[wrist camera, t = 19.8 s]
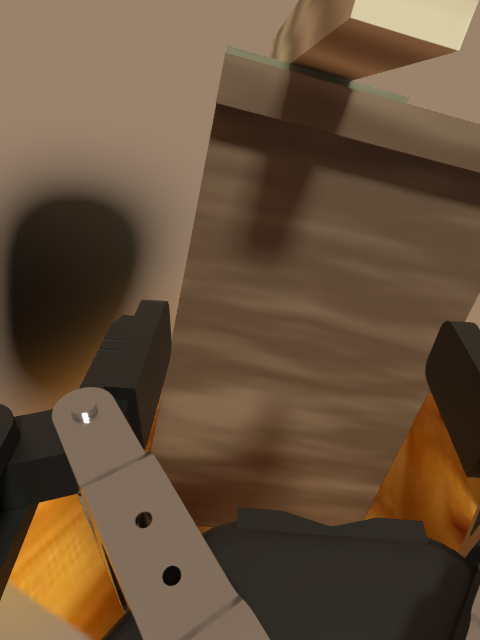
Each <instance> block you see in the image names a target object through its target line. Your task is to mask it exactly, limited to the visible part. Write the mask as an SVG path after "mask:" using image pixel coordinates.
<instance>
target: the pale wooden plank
mask: <svg viewBox="0 0 480 640" xmlns="http://www.w3.org/2000/svg"><path fill="white" fill-rule="evenodd" d="M478 1H479V0H299V2H298V3H297V4H296V6H295V8H294V9H293V11H292V12H291V13H290V15H289V16H288V18H287V19H286V21H285V22H284V24H283V25H282V27H281V28H280V30H279V31H278V33H277V34H276V36H275V37H274V39H273V43H272V47H271V51H270V56H269V58H272V59H276V60H279V61H283V62H286V63H290V64H293V65H297V66H300V67H304V68H307V69H311V70H314V71H318V72H321V73H325V74H328V75H332V76H336V77H339V78H343V79H346V80H350V81H352V80H355V79H359V78H363V77H366V76H370V75H374V74H377V73H381V72H385V71H388V70H392V69H395V68H399V67H403V66H406V65H410V64H413V63H417V62H421V61H424V60H428V59H432V58H435V57H439V56H442V55H446V54H450V53H453V52H457V51H459V50H460V47H461V45H462V42H463V39H464V37H465V34H466V32H467V29H468V26H469V24H470V21H471V19H472V16H473V14H474V11H475V9H476V6H477V3H478Z"/></svg>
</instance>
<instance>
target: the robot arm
mask: <svg viewBox="0 0 480 640" xmlns="http://www.w3.org/2000/svg"><path fill="white" fill-rule="evenodd" d="M169 314H170V313H169V304H168V302H167V301H157V300H141V302H140V304H139V306H138V309H137V311H136V313H135V316H128V315H122V317H120V318H119V319H118V320H116V321H115V322H114V323H113V324H112V325H111V326H110V327H109V330H108V331H107V333H106V335H105V338H104V340H103V342H102V344H101V346H100V348H99V351H98V352H97V354H96V356H95V358H94V360H93V362H92V364H91V366H90V368H89V370H88V372H87V374H86V376H85V378H84V380H83V382H82V384H81V386H80V388H79V389H77V390H74V391H72V392H70V393H68V394H66V395H65V396H64V397H62V398H61V399H60V400H59V401H58V402H57V404H56V405H55V407H54V409H51V410H48V411H43V412H38V413H32V414H27V415H22V416H16V417H14V416H13V414H12V412H11V410H10V409H9V408H8V407H6V406H4V405H1V404H0V600H1V597H2V594H3V592H4V589H5V587H6V584H7V582H8V579H9V577H10V574H11V572H12V569H13V567H14V564H15V562H16V559H17V557H18V554H19V552H20V549H21V547H22V544H23V542H24V539H25V537H26V534H27V532H28V529H29V526H30V524H31V521H32V519H33V516H34V514H35V511H36V509H37V506H38V504H39V502H44V501H48V500H52V499H56V498H61V497H65V496H69V495H74V494H78V497H79V499H80V502H81V504H82V507H83V509H84V512H85V514H86V517H87V519H88V522H89V524H90V527H91V529H92V532H93V534H94V537H95V539H96V542H97V544H98V547H99V550H100V552H101V555H102V557H103V560H104V563H105V566H106V568H107V571H108V574H109V576H110V579H111V582H112V584H113V587H114V589H115V592H116V595H117V597H118V600H119V602H120V605H121V607H122V610H123V612H124V615H123V616H122V617H121V618H120V619H119V620H118V621H117V623H116V624H115V625H114V626H113V627H112V628H111V629H110V630H109V631H108V632H107V634H106V635H105V636H104V637H103V638H102V639H101V640H480V503H479V505H478V508H477V510H476V513H475V515H474V517H473V520H472V522H471V525H470V527H469V529H468V532H467V534H466V537H465V539H464V541H463V544H462V546H461V548H460V550H459V552H458V553H457V552H456V551H455V550H453V549H451V548H449V547H448V546H446V545H444V544H442V543H440V542H438V541H435V540H433V539H431V538H428V537H427V536H426V532H425V529H424V526H423V522H422V521H412V520H399V519H386V518H373V519H368V520H362V521H357V522H352V523H347V524H342V525H337V526H328V525H325V524H322V523H319V522H316V521H313V520H310V519H307V518H304V517H300V516H297V515H294V514H291V513H288V512H285V511H281V510H268V509H255V508H242V507H238V509H237V521H233V522H228V523H225V524H222V525H219V526H216V527H214V528H212V529H210V530H208V531H206V532H204V533H203V534H201V533H200V531H199V529H198V528H197V526H196V524H195V523H194V521H193V519H192V518H191V516H190V514H189V513H188V511H187V509H186V507H185V506H184V504H183V502H182V501H181V499H180V497H179V496H178V494H177V492H176V491H175V489H174V487H173V486H172V484H171V482H170V480H169V479H168V477H167V475H166V474H165V472H164V470H163V469H162V467H161V465H160V464H159V462H158V460H157V459H156V457H155V456H154V455H153V454H152V453H151V452H149V453H147V454H146V452H145V448H146V445H147V441H148V438H149V434H150V430H151V427H152V423H153V420H154V416H155V412H156V409H157V405H158V402H159V398H160V394H161V391H162V387H163V384H164V380H165V377H166V373H167V369H168V366H169V362H170V357H171V328H170V315H169ZM425 375H426V380H427V383H428V385H429V388H430V390H431V392H432V395H433V397H434V400H435V402H436V404H437V407H438V409H439V412H440V414H441V416H442V419H443V421H444V423H445V426H446V428H447V431H448V433H449V435H450V438H451V440H452V442H453V445H454V447H455V450H456V452H457V454H458V457H459V459H460V462H461V464H462V466H463V469H464V471H465V473H466V476H467V477H476V478H480V329H479V328H478V326H477V325H476V324H475V323H471V322H456V321H445V322H444V323H443V324H442V325H441V327H440V330H439V332H438V334H437V337H436V339H435V342H434V344H433V347H432V349H431V351H430V354H429V356H428V359H427V361H426V366H425Z"/></svg>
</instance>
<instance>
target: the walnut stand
mask: <svg viewBox="0 0 480 640" xmlns="http://www.w3.org/2000/svg"><path fill="white" fill-rule="evenodd" d="M408 99H409V97H406V96H402V95H398V94H395V93H392V92H388V91H385V90H381V89H378V88H374V87H371V86H367V85H364V84H360V83H357V82H353V81H350V80H346V79H343V78H339V77H336V76H332V75H328V74H325V73H321V72H318V71H314V70H311V69H307V68H304V67H300V66H297V65H293V64H290V63H286V62H283V61H279V60H276V59H272V58H269V57H265V56H262V55H258V54H255V53H251V52H248V51H244V50H241V49H237V48H234V47H230V46H227V49H226V53H225V58H224V64H223V69H222V74H221V79H220V85H219V89H218V95H217V100H216V109H215V114H214V119H213V125H212V130H211V135H210V140H209V146H208V151H207V156H206V162H205V167H204V173H203V178H202V183H201V188H200V194H199V199H198V204H197V209H196V215H195V220H194V225H193V231H192V236H191V241H190V246H189V252H188V258H187V262H186V268H185V273H184V278H183V283H182V289H181V294H180V299H179V305H178V310H177V315H176V321H175V326H174V331H173V336H172V342H171V357H170V362H169V366H168V369H167V373H166V377H165V380H164V384H163V389H162V395H161V400H160V405H159V410H158V416H157V421H156V426H155V432H154V437H153V442H152V447H151V453H152V454H153V455H154V456H155V457H156V459H157V460H158V462H159V464H160V465H161V467H162V469H163V470H164V472H165V474H166V475H167V477H168V479H169V480H170V482H171V484H172V486H173V487H174V489H175V491H176V492H177V494H178V496H179V497H180V499H181V501H182V502H183V504H184V506H185V507H186V509H187V511H188V513H189V514H190V516H191V518H192V519H193V521H194V523H195V524H196V525H201V526H209V527H216V526H219V525H222V524H225V523H228V522H233V521H237V509H238V507H242V508H255V509H268V510H281V511H285V512H288V513H291V514H294V515H297V516H300V517H304V518H307V519H310V520H313V521H316V522H319V523H322V524H325V525H328V526H337V525H342V524H347V523H352V522H357V521H362V520H364V518H365V516H366V514H367V512H368V510H369V508H370V506H371V504H372V502H373V500H374V498H375V496H376V494H377V493H378V491H379V489H380V487H381V485H382V483H383V481H384V479H385V477H386V475H387V473H388V471H389V469H390V467H391V465H392V463H393V461H394V459H395V457H396V455H397V453H398V451H399V449H400V448H401V446H402V444H403V442H404V440H405V438H406V436H407V434H408V432H409V430H410V428H411V426H412V424H413V422H414V420H415V418H416V416H417V414H418V412H419V410H420V408H421V406H422V404H423V402H424V401H425V399H426V397H427V395H428V393H429V391H430V388H429V385H428V383H427V380H426V375H425V366H426V361H427V359H428V356H429V354H430V351H431V349H432V347H433V344H434V342H435V339H436V337H437V334H438V332H439V330H440V327H441V325H442V324H443V323H444V322H445V321H456V322H465V320H466V318H467V316H468V314H469V312H470V310H471V308H472V307H473V305H474V303H475V301H476V299H477V297H478V294H479V293H480V124H477V123H473V122H469V121H466V120H462V119H459V118H455V117H452V116H448V115H444V114H441V113H437V112H434V111H430V110H427V109H423V108H420V107H416V106H412V105H409V104H407V102H408Z"/></svg>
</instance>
